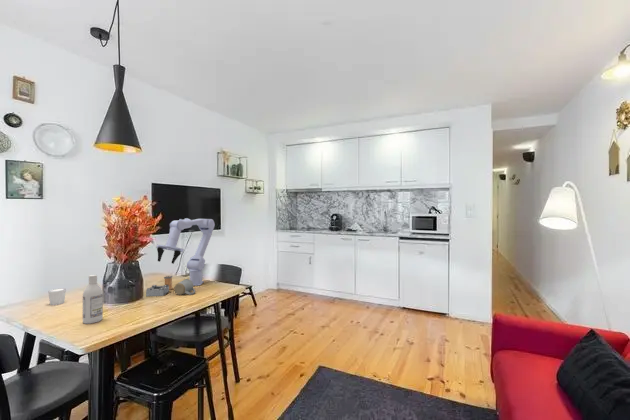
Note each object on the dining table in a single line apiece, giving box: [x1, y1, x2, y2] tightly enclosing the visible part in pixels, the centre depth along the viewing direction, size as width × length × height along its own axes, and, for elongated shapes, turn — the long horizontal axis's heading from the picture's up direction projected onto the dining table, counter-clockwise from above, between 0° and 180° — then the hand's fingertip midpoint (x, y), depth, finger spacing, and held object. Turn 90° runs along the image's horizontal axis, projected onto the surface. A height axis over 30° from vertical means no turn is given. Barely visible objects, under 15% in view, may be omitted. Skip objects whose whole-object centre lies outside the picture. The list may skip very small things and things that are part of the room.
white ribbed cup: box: [48, 287, 67, 306], centre depth 150 cm, size 7×7×7 cm
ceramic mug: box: [174, 278, 196, 296], centre depth 169 cm, size 11×8×8 cm
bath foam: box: [82, 274, 104, 325], centre depth 127 cm, size 7×7×20 cm
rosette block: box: [145, 284, 170, 297], centre depth 168 cm, size 9×9×4 cm
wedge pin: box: [163, 275, 173, 291], centre depth 177 cm, size 4×4×8 cm
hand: (165, 262), depth 167 cm, fingers open, 7 cm apart
